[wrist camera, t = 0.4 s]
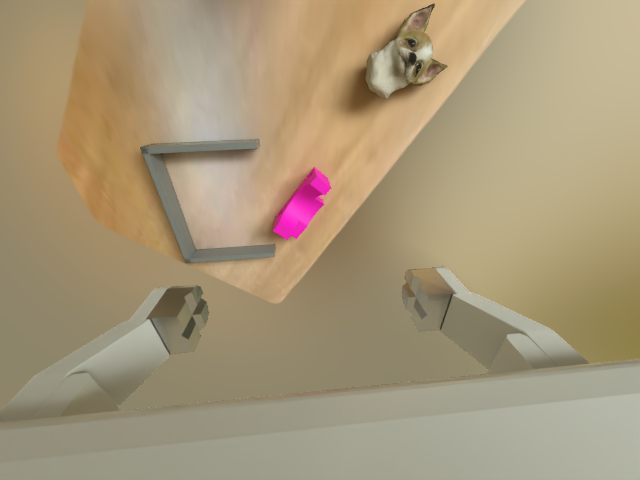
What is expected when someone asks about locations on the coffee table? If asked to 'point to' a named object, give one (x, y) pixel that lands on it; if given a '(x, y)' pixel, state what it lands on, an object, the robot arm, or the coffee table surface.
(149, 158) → the box
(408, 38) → the ceramic sculpture
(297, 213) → the magenta curved bracket
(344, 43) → the coffee table surface
